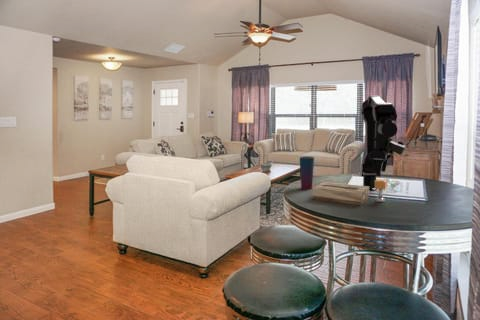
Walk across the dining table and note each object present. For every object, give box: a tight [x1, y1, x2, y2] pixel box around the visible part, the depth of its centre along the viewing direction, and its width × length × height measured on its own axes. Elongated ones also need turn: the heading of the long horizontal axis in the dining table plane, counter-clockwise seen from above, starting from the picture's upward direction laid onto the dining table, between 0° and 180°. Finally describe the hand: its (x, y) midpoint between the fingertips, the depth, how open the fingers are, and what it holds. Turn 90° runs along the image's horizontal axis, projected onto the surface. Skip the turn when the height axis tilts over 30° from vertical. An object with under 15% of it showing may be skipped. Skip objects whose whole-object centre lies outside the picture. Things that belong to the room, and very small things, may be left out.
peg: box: [375, 178, 388, 203], centre depth 147 cm, size 4×4×8 cm
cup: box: [299, 155, 315, 191], centre depth 171 cm, size 7×7×15 cm
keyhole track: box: [312, 181, 370, 206], centre depth 152 cm, size 13×20×5 cm, turn 57°
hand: (381, 173), depth 146 cm, fingers open, 9 cm apart
